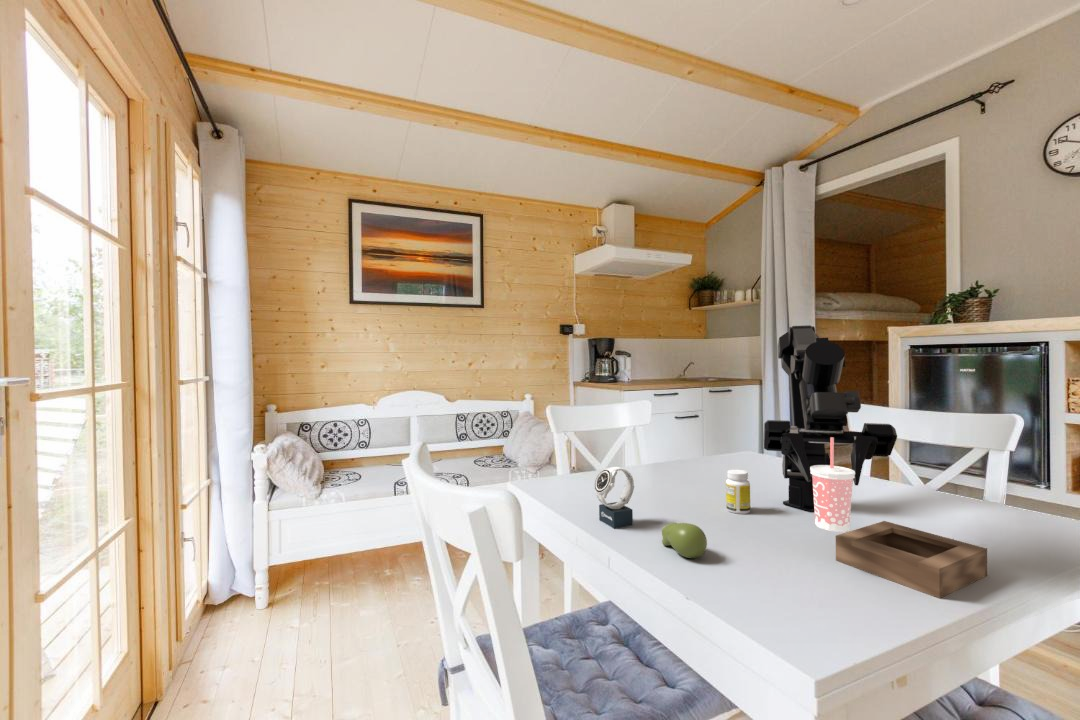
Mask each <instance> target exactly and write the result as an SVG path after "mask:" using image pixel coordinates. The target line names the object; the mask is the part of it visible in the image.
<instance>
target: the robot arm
mask: <svg viewBox="0 0 1080 720" xmlns="http://www.w3.org/2000/svg"><path fill="white" fill-rule="evenodd" d="M845 353H846V351H845V350H844V349H843V347H842V346H840V345H839V344H837V343H835V342H832V341H830V340H829V337H820V336H819V335H818V334H817V333H816V328H815V326H812V325H811V324H809V325H808V324H807V325H792V326H789V327H788V330H787V332H786V333H784V334H782V335H781V336H780V337H778V342H777V359H780V363H781V369H782V370H783V371H784V372H785V374H787V376H788V377H789V392H790V405H791V408H790V409H791V420H792V421H790V420H780V419H779V420H778V419H777V420H776V419H767V420H766V421H765V422H764V423H763V449H764V450H766V451H769V452H771V451H772V452H773V451H774V452H780V454H781V455H783V456H782V463H781V465H782V476H783V477H784V479H788V499H787V500H784V501H782V504H783V505H786V506H788V507H789V506H790V507H793V508H796V509H800V510H804V511H807V512H815V510H814V495H813V480H812V474H811V473H810V467H811V466H813V465H830V454H829V452H827V451H826V446H825V444H828V445H830V437H834V445H851V446H852V451H851V454H850V462H851V463H850V464H851V469H852V470H854V471H855V475H854V476H855V478H853V483H854V486H859V483H860V479H861V475H862V470H863V465H864V462H865V460H871V459H873V457H884V458H885V457H886V458H887V457H888V456H891V455H892V452H893V450H894V447H895V445H896V442H897V440H898V439H897V438H898V434H897V431H896V428H895V427H894V426H893V425H892V424H890V423H877V422H876V423H873V422H871V423H870V422H864V424H863V426H862V429H861V431H849V430H848V431H845V427H847V426H848V417H847V415H848V414H849V413H858V412H859V411H860V410H861V408H862V403H861V397H860V396H861V395H860V392H859V390H845V391H844V392H839V391H837V390H838V389H837V386H836V385H837V384H839V382H840V380H841V375H842V371H843V368H846V360H845ZM791 422H792V425H791Z"/></svg>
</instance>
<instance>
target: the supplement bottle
mask: <svg viewBox="0 0 1080 720" xmlns="http://www.w3.org/2000/svg"><path fill="white" fill-rule="evenodd" d="M748 479H749V473H748V471H747V470H743V469H728V470H727V479H726V480H725V498H726V499H725V500H726V502H725V503H726V508H725V509H726V511H728V512H729V513H732V514H737V515H738V514H739V515H745V514H749V513H750V512H751V483H750V481H749V480H748Z"/></svg>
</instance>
